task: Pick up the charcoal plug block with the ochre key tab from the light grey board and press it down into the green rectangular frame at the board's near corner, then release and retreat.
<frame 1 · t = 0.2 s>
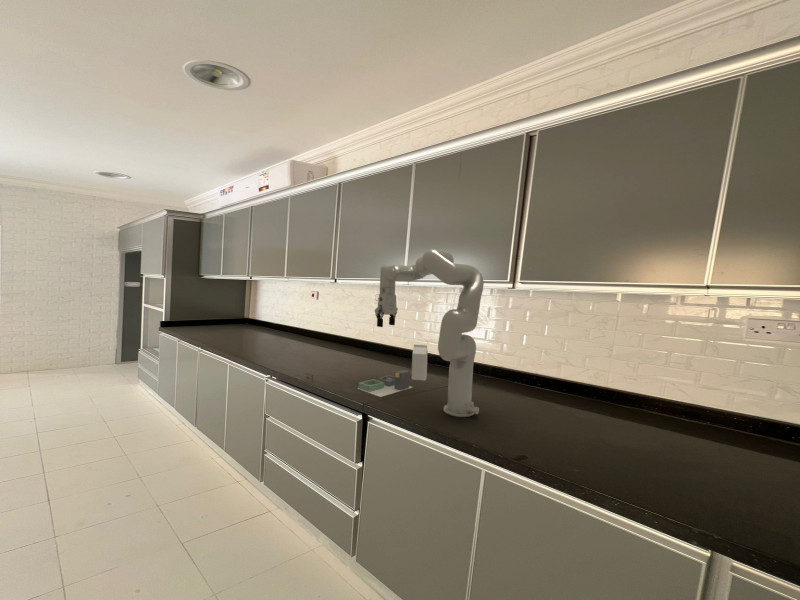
hand: (385, 325, 172), 30 cm above the counter, fingers open, 9 cm apart
milk carton: (419, 380, 186), on the counter
board: (385, 390, 168), on the counter
plug: (401, 388, 168), point 1 cm above the counter, touching board
green rectangular frame: (371, 390, 166), resting on board
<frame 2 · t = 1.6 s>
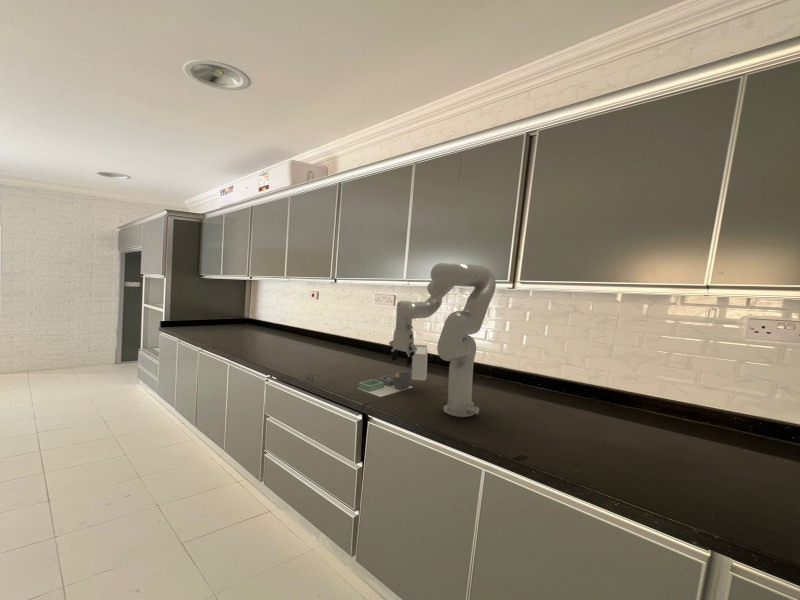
hand: (401, 362, 168), 14 cm above the counter, fingers open, 9 cm apart
nothing on the counter moved.
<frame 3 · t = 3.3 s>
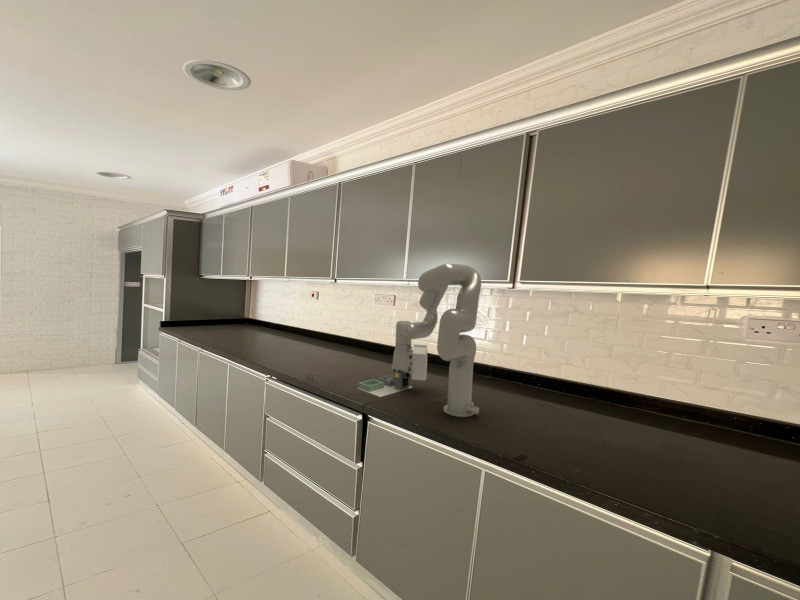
hand: (401, 384, 168), 3 cm above the counter, fingers closed on plug, 4 cm apart
plug: (401, 388, 168), point 1 cm above the counter, touching board, gripper
everything else where it was.
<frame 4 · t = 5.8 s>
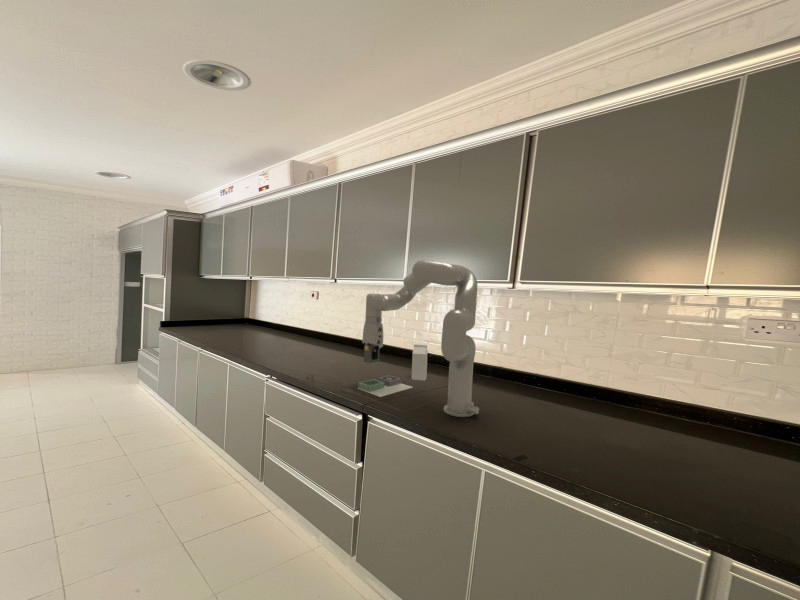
hand: (371, 357, 166), 16 cm above the counter, fingers closed on plug, 4 cm apart
plug: (371, 361, 166), point 14 cm above the counter, touching gripper
everything else where it was.
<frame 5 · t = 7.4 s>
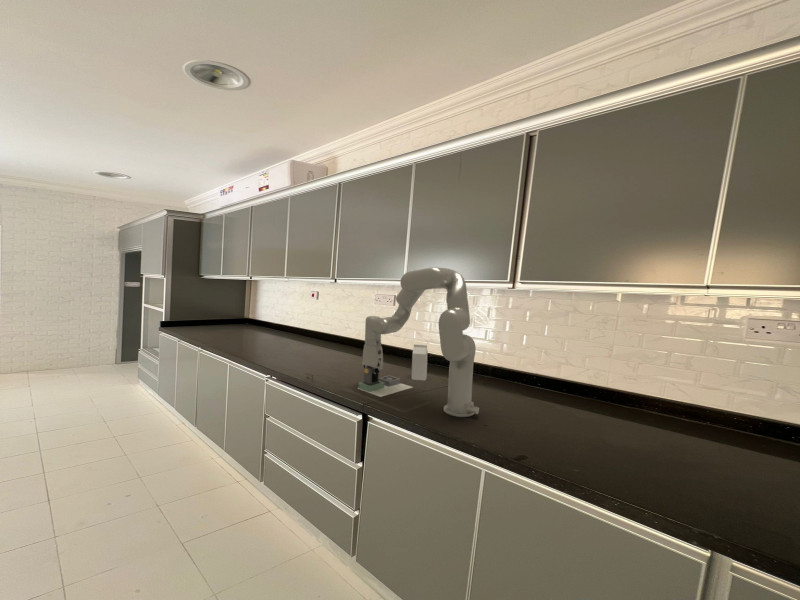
hand: (371, 380, 166), 5 cm above the counter, fingers closed on plug, 4 cm apart
plug: (371, 384, 166), point 3 cm above the counter, touching gripper
everything else where it was.
when the fingers open (5 cm above the counter, at t = 8.4 s): plug drops 1 cm, resting on green rectangular frame.
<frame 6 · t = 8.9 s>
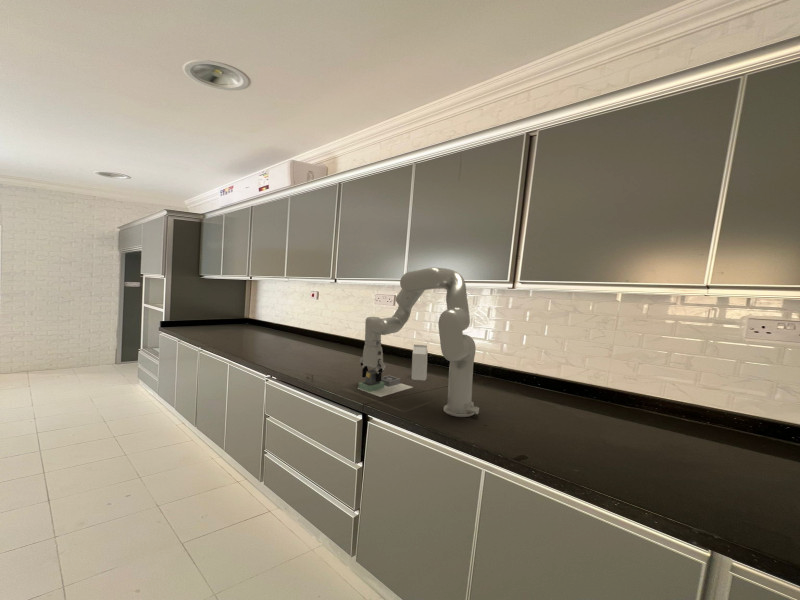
hand: (371, 379, 166), 6 cm above the counter, fingers open, 9 cm apart
plug: (371, 387, 166), point 2 cm above the counter, tilted 10°, touching green rectangular frame
everything else where it was.
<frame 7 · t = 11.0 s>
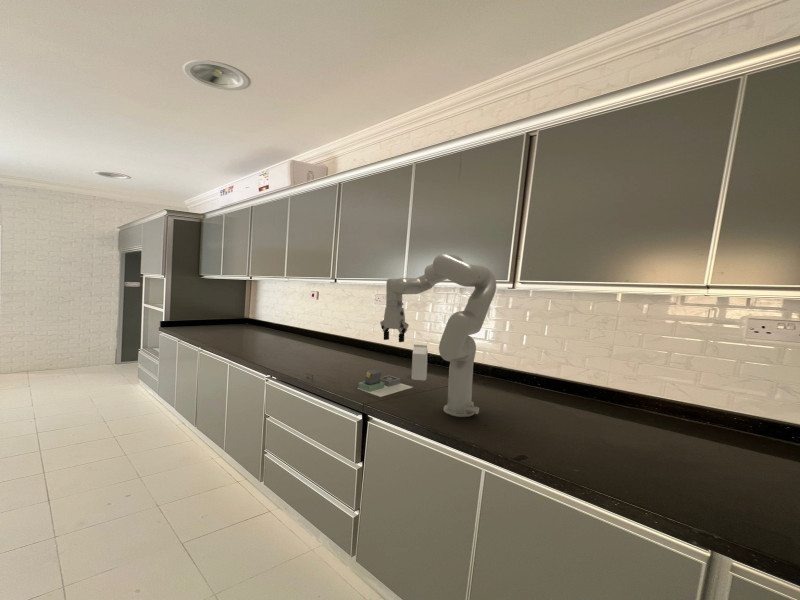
hand: (393, 340, 165), 24 cm above the counter, fingers open, 9 cm apart
plug: (371, 387, 166), point 2 cm above the counter, tilted 10°, touching board, green rectangular frame
everything else where it was.
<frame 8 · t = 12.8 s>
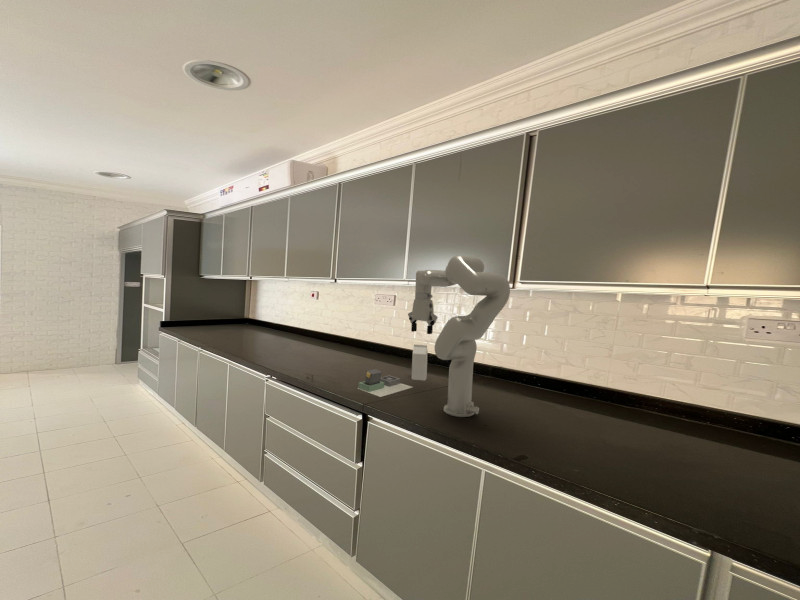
hand: (421, 332, 167), 28 cm above the counter, fingers open, 9 cm apart
nothing on the counter moved.
at the end: plug 0.1 cm off-centre on the green rectangular frame, point 1.6 cm above the green rectangular frame's base; plug tilted 10° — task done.
